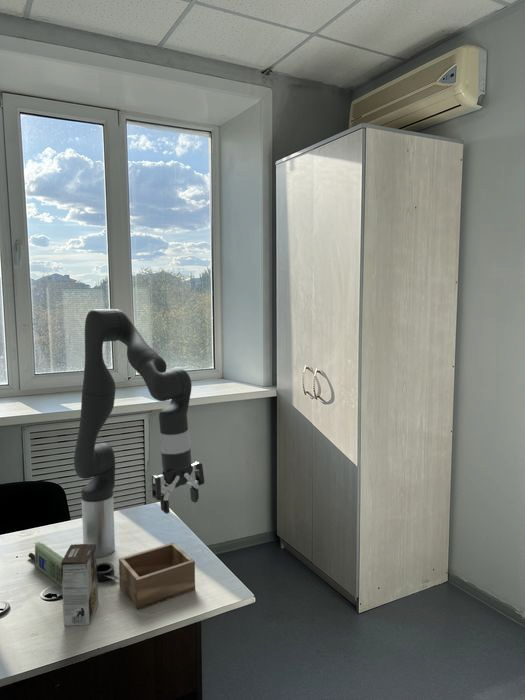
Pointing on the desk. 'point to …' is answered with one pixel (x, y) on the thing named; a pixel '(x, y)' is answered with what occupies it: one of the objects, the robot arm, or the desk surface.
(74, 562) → the coffee box
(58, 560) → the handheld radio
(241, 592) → the desk surface
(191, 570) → the walled box
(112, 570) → the black wing nut
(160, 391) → the robot arm
